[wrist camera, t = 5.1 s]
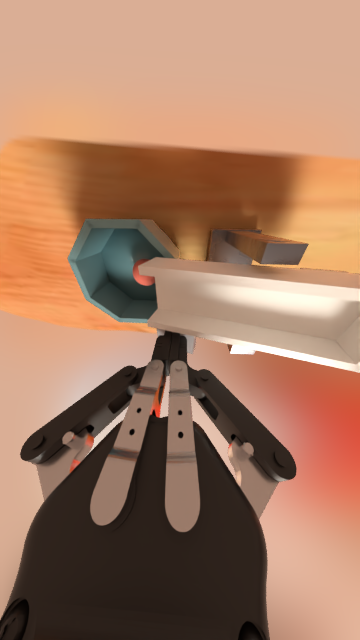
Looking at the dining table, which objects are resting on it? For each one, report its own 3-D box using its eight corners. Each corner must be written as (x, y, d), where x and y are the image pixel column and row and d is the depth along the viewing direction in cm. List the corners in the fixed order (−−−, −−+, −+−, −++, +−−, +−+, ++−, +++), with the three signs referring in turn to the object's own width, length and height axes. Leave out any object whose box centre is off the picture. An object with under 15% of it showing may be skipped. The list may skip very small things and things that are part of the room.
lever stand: (256, 229, 15) (341, 242, 7) (237, 299, 20) (270, 355, 12) (211, 228, 15) (237, 240, 7) (202, 298, 20) (212, 353, 12)
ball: (162, 259, 15) (139, 264, 14) (164, 284, 17) (143, 291, 15) (147, 255, 17) (125, 258, 15) (150, 278, 19) (130, 284, 17)
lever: (360, 263, 10) (462, 299, 6) (296, 349, 15) (321, 401, 11) (169, 250, 14) (137, 265, 9) (171, 323, 19) (152, 355, 15)
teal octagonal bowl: (180, 219, 15) (177, 219, 10) (180, 302, 21) (177, 324, 17) (89, 218, 15) (49, 218, 11) (114, 299, 21) (95, 321, 17)
